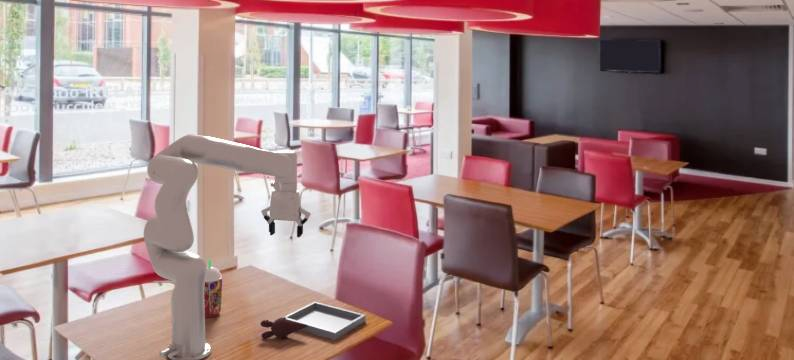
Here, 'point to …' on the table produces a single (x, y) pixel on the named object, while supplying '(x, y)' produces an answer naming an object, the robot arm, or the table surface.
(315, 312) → the serving tray
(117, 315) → the table surface
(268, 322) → the icecream
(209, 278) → the smoothie
